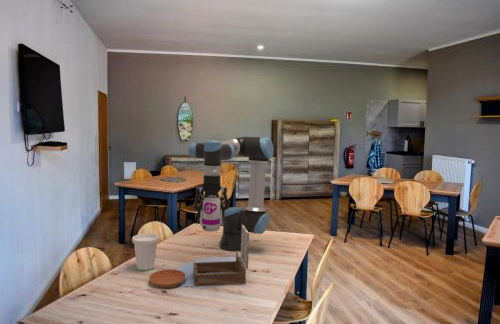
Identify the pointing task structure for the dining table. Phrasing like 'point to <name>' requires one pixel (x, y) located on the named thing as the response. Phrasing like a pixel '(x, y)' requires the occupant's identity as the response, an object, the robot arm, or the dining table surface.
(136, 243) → the cup
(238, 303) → the dining table surface
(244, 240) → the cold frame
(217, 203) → the supplement can
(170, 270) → the saucer
